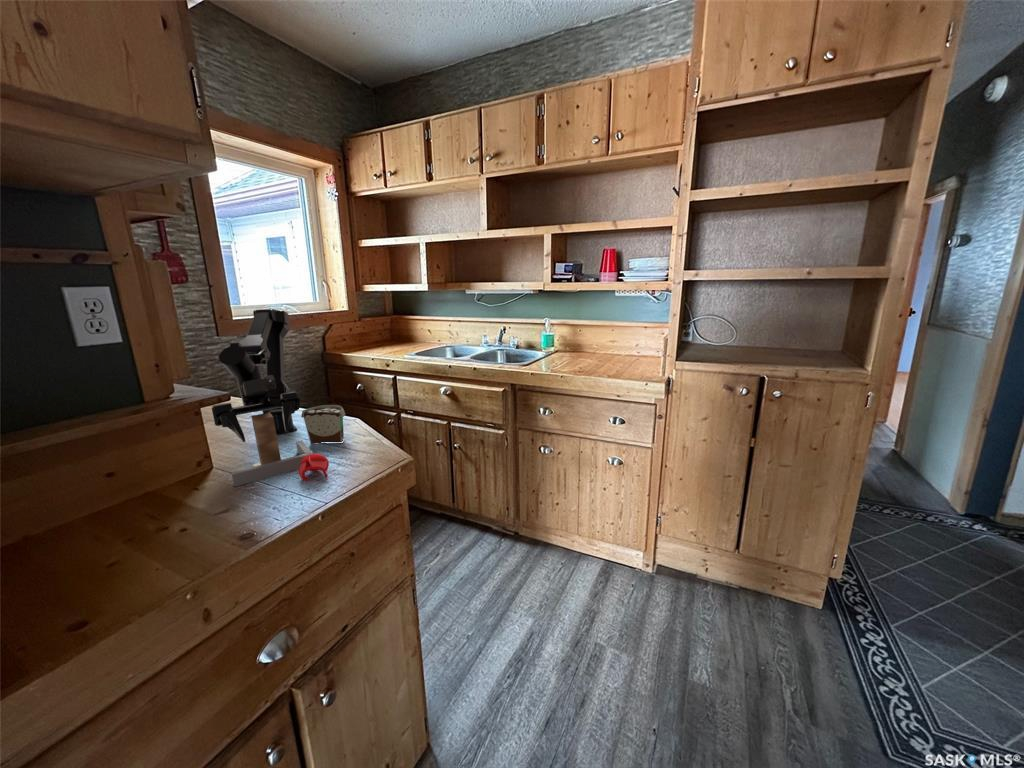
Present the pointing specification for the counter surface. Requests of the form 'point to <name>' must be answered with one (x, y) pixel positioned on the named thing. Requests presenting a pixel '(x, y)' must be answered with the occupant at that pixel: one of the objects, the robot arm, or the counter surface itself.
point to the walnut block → (266, 438)
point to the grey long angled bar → (271, 467)
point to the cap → (313, 465)
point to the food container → (324, 423)
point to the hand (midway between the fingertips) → (266, 436)
